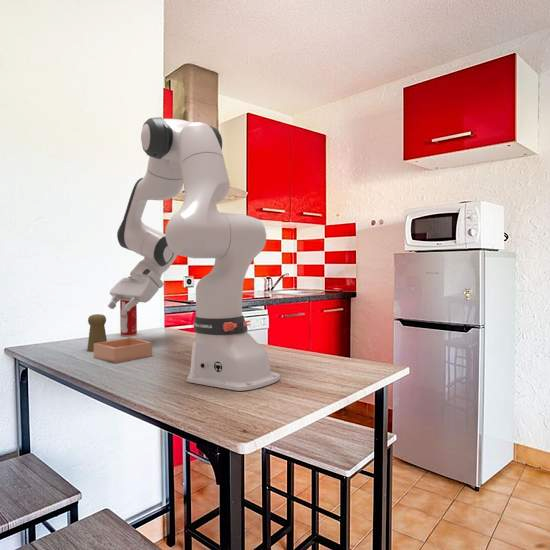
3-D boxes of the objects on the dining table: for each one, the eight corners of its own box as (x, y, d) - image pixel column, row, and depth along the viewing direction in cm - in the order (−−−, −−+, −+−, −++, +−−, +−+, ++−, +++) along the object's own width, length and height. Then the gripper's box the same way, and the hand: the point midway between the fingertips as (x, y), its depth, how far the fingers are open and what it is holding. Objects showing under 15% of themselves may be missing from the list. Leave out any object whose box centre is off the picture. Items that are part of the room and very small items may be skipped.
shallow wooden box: (152, 356, 126) (151, 342, 125) (114, 363, 117) (114, 348, 117) (130, 350, 133) (130, 337, 133) (93, 357, 124) (93, 343, 124)
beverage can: (133, 333, 165) (132, 293, 164) (140, 335, 160) (139, 294, 159) (117, 335, 161) (116, 294, 160) (124, 337, 156) (123, 295, 155)
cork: (82, 351, 133) (82, 315, 132) (95, 347, 138) (94, 313, 138) (100, 352, 131) (99, 316, 131) (112, 348, 137) (111, 313, 137)
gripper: (121, 270, 152) (95, 300, 145) (155, 271, 138) (127, 304, 131) (133, 282, 155) (108, 312, 148) (167, 284, 142) (140, 317, 135)
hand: (117, 308), depth 140 cm, fingers open, 8 cm apart
